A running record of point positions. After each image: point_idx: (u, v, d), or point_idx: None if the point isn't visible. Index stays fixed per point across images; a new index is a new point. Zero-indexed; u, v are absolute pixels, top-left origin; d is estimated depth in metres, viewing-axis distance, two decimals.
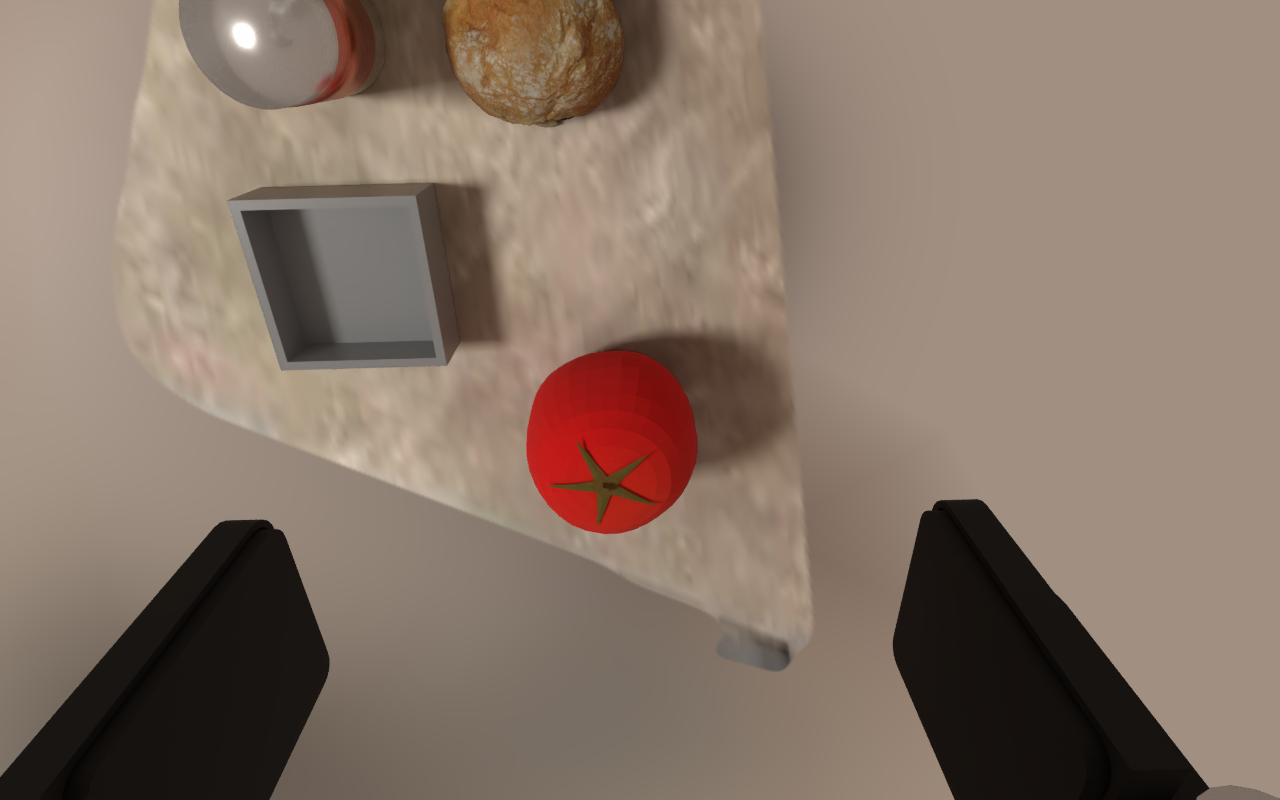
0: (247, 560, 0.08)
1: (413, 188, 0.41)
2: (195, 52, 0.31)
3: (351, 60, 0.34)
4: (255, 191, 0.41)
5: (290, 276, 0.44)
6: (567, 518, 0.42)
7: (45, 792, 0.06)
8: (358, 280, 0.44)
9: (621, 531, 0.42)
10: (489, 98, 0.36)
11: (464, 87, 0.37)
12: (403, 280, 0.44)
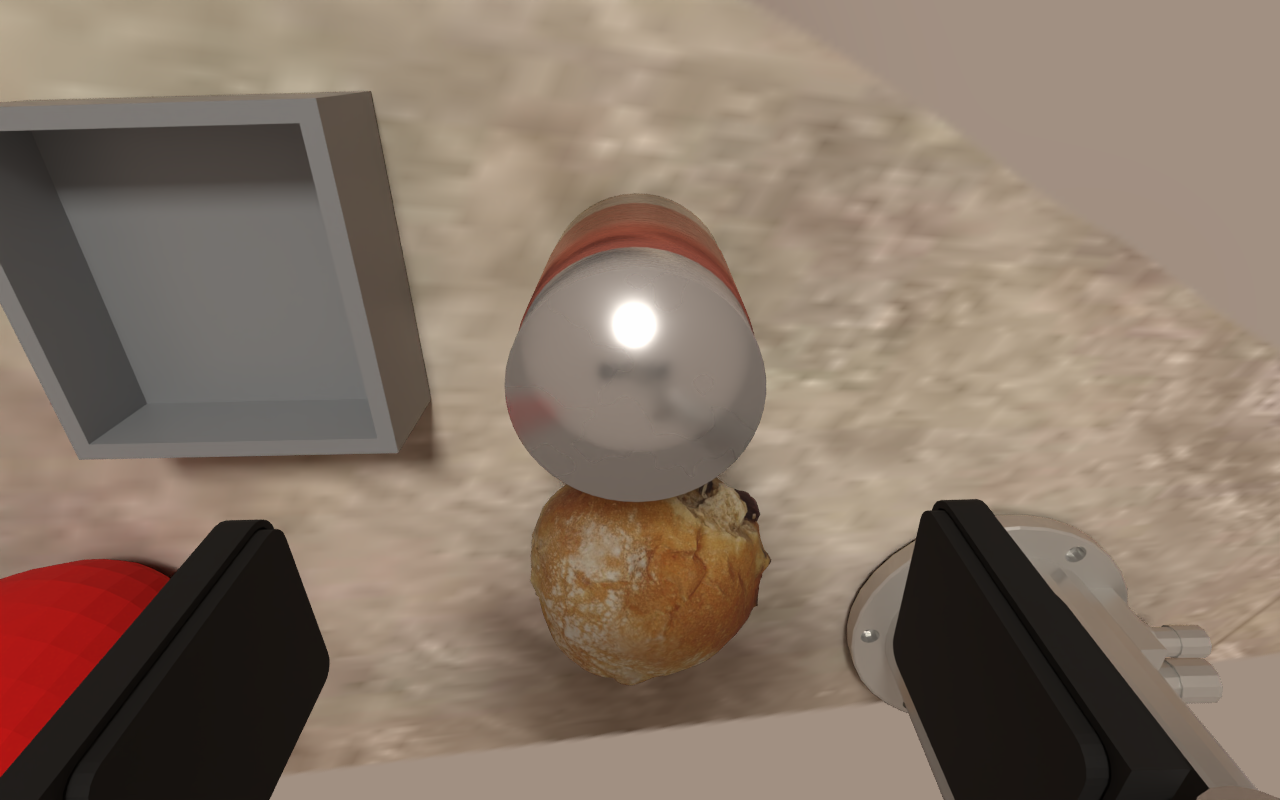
0: (247, 560, 0.08)
1: (413, 403, 0.24)
2: (602, 284, 0.15)
3: None
4: (357, 106, 0.20)
5: (185, 125, 0.21)
6: None
7: (45, 792, 0.06)
8: (219, 267, 0.23)
9: None
10: (561, 569, 0.25)
11: (574, 521, 0.25)
12: (244, 348, 0.24)
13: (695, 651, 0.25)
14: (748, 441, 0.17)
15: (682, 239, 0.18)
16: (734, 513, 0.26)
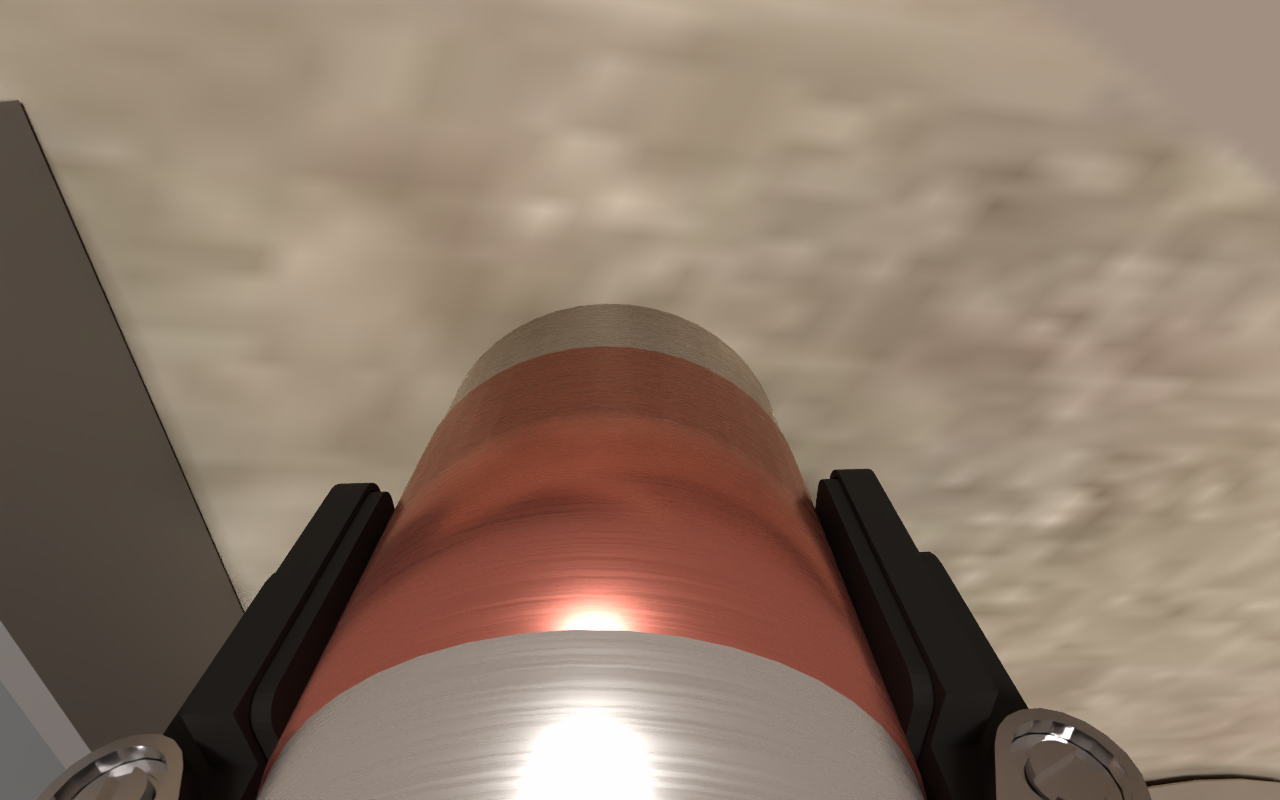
0: (366, 518, 0.09)
1: None
2: None
3: None
4: None
5: None
6: None
7: (239, 706, 0.06)
8: None
9: None
10: None
11: None
12: None
13: None
14: None
15: (721, 519, 0.06)
16: None
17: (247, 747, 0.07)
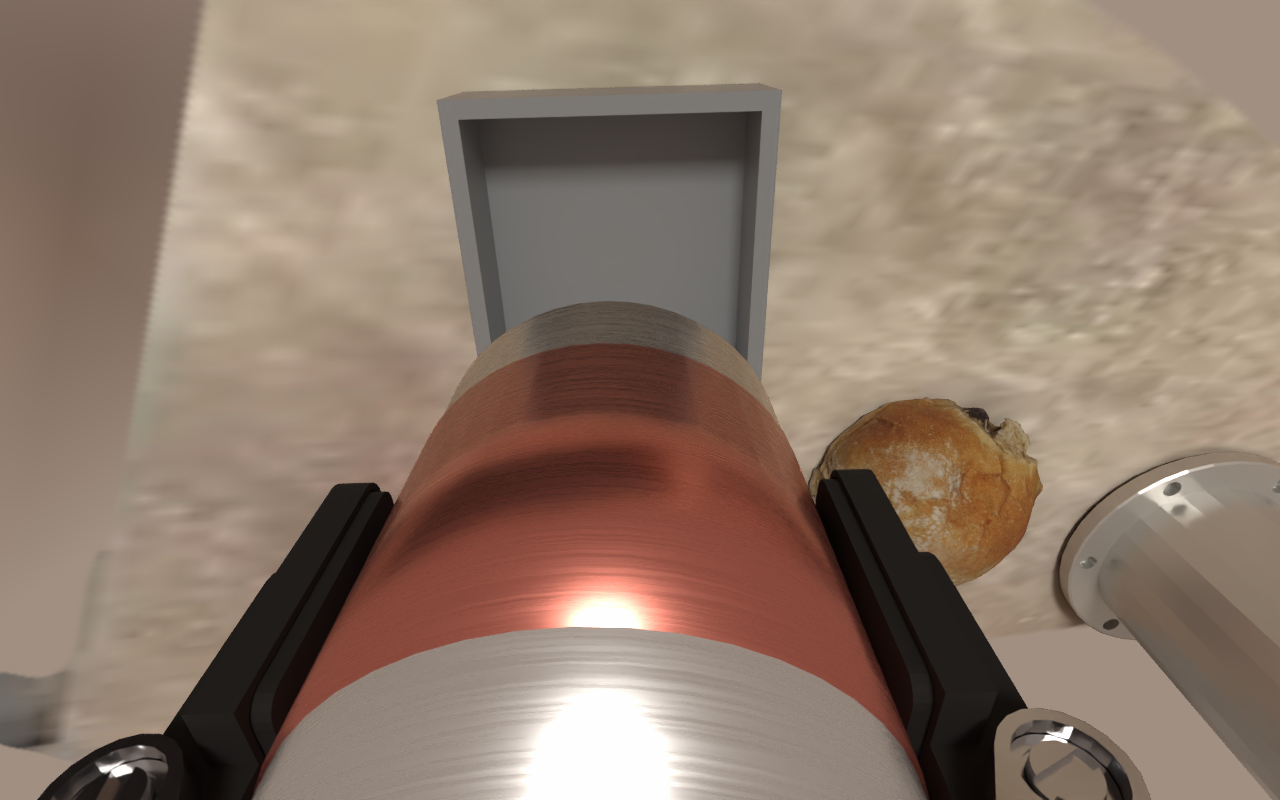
0: (366, 518, 0.09)
1: None
2: None
3: None
4: None
5: None
6: None
7: (239, 706, 0.06)
8: (606, 235, 0.26)
9: None
10: (884, 491, 0.29)
11: (894, 449, 0.29)
12: None
13: (993, 561, 0.29)
14: None
15: (721, 515, 0.06)
16: (1022, 443, 0.30)
17: (247, 747, 0.07)
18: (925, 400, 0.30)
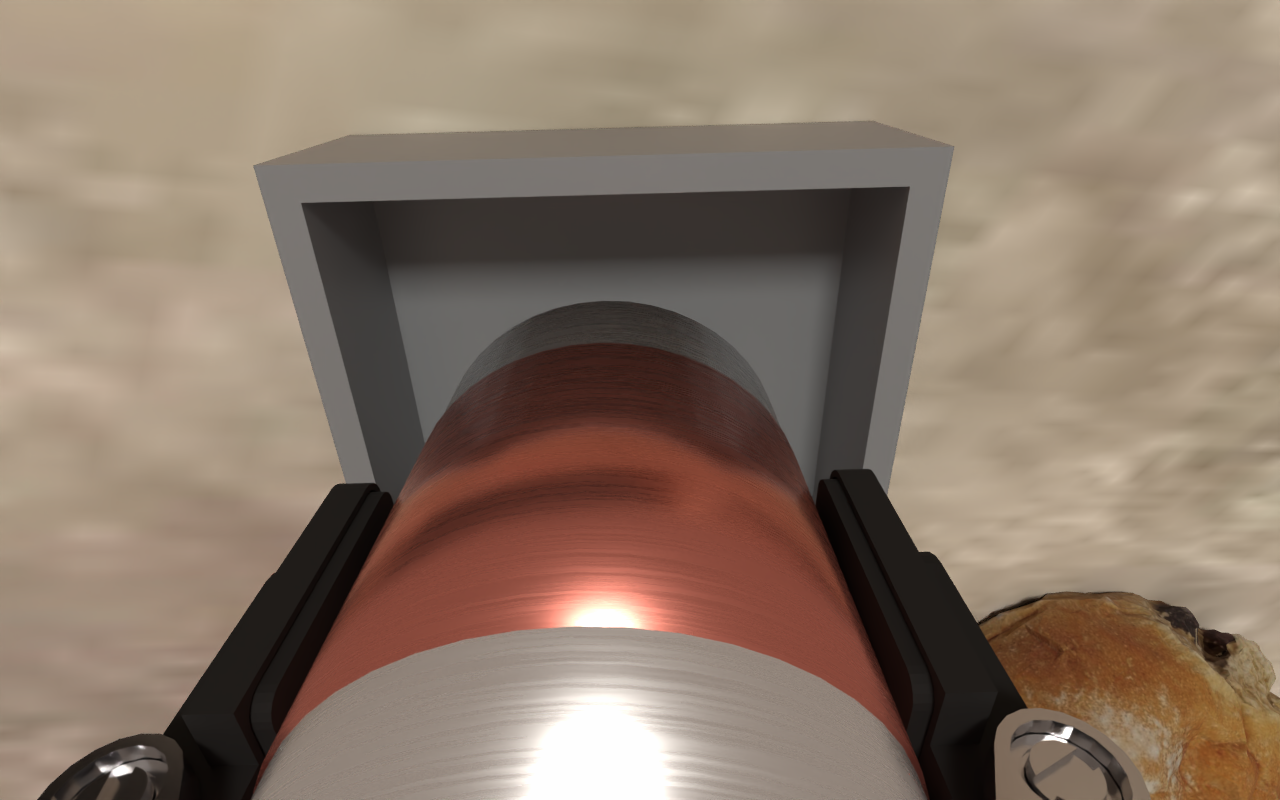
0: (366, 518, 0.09)
1: None
2: None
3: None
4: None
5: None
6: None
7: (239, 705, 0.06)
8: None
9: None
10: None
11: (1070, 700, 0.18)
12: None
13: None
14: None
15: (721, 515, 0.06)
16: (1264, 679, 0.19)
17: (247, 747, 0.07)
18: (1105, 603, 0.19)
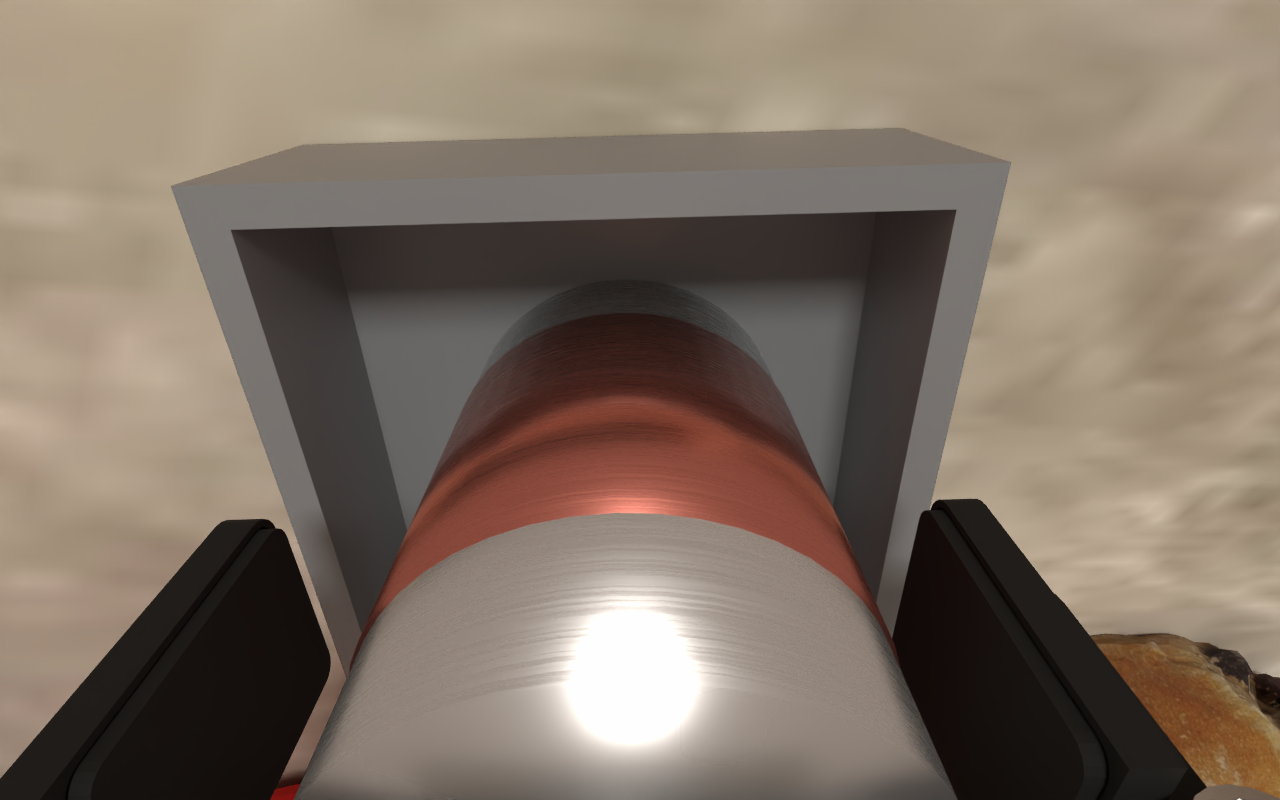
0: (248, 560, 0.08)
1: None
2: (520, 717, 0.05)
3: None
4: None
5: None
6: None
7: (47, 791, 0.06)
8: None
9: None
10: None
11: None
12: None
13: None
14: None
15: (729, 442, 0.08)
16: None
17: None
18: (1151, 649, 0.18)
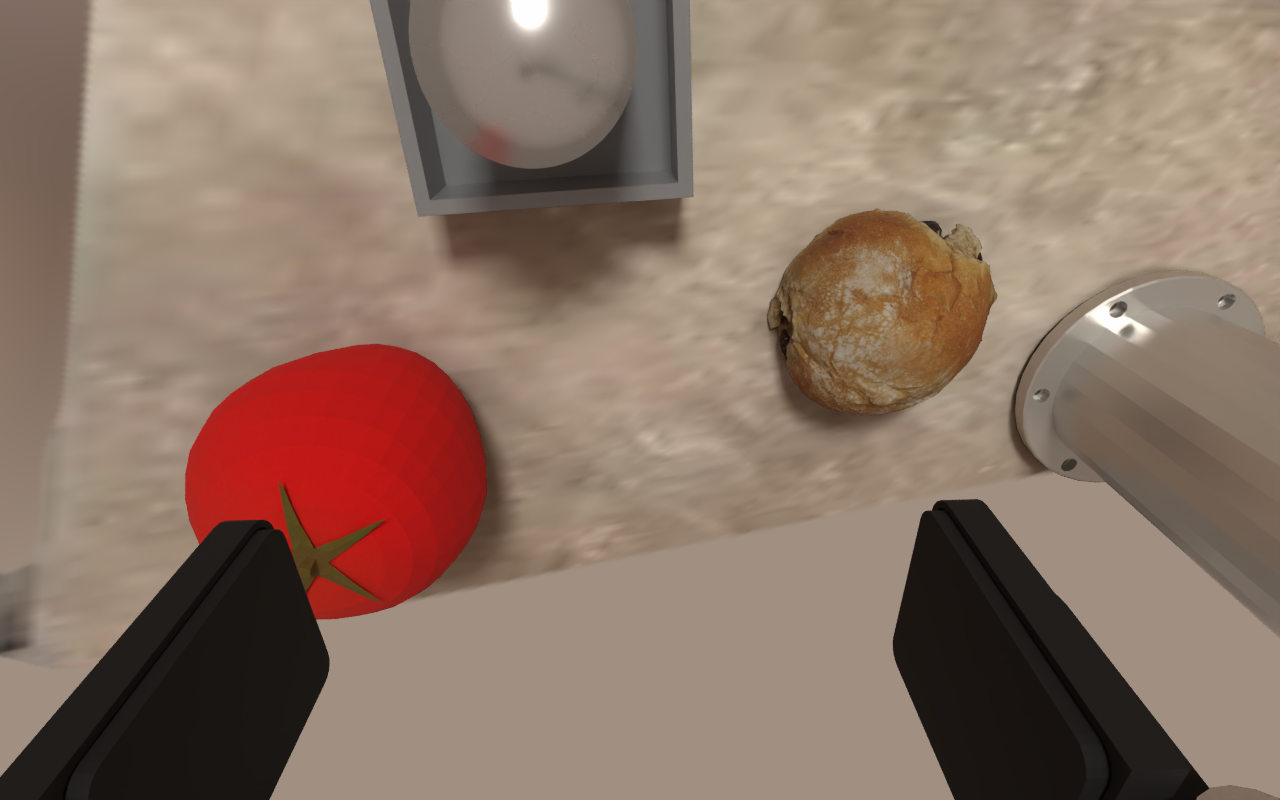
0: (247, 560, 0.08)
1: None
2: None
3: None
4: None
5: None
6: (210, 492, 0.25)
7: (45, 792, 0.06)
8: None
9: None
10: (836, 293, 0.28)
11: (844, 252, 0.29)
12: None
13: (948, 363, 0.29)
14: (628, 93, 0.19)
15: None
16: (973, 246, 0.30)
17: None
18: (876, 211, 0.30)
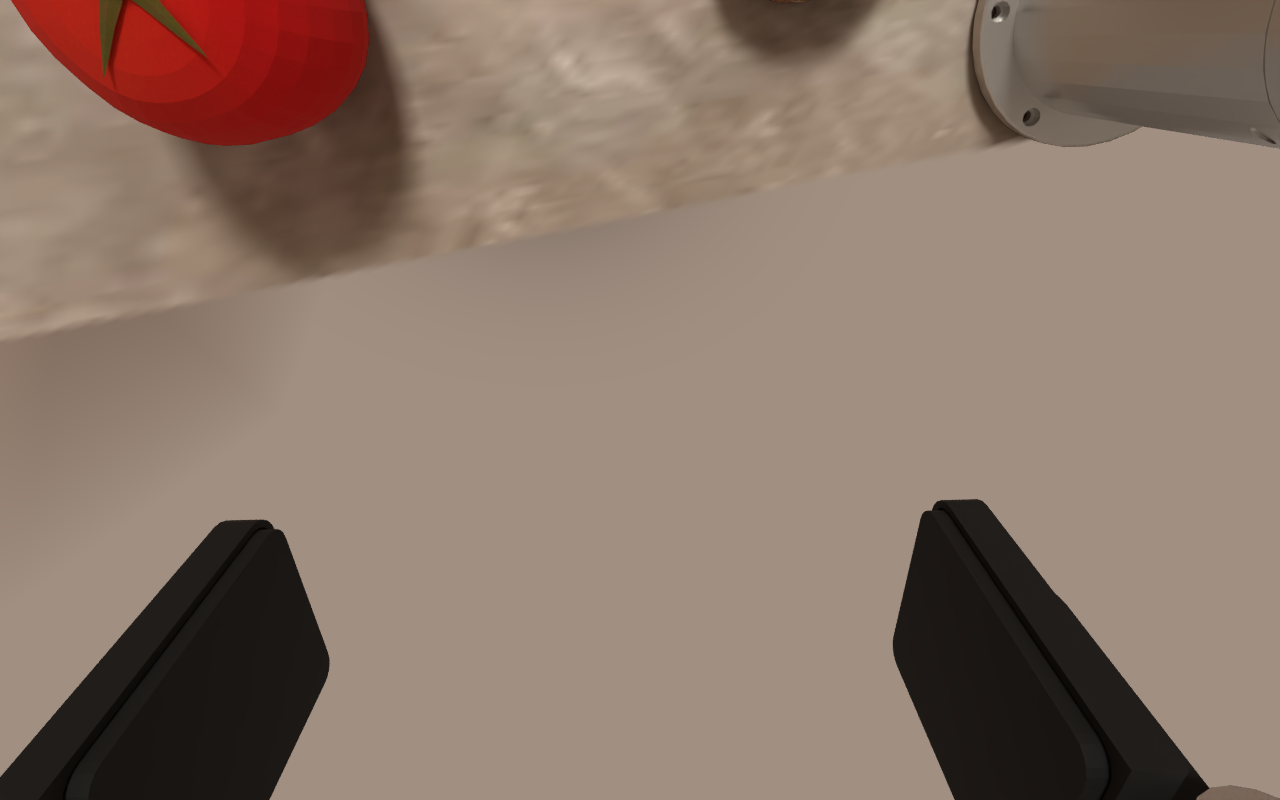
0: (246, 560, 0.08)
1: None
2: None
3: None
4: None
5: None
6: None
7: (44, 792, 0.06)
8: None
9: (16, 3, 0.23)
10: None
11: None
12: None
13: None
14: None
15: None
16: None
17: None
18: None
